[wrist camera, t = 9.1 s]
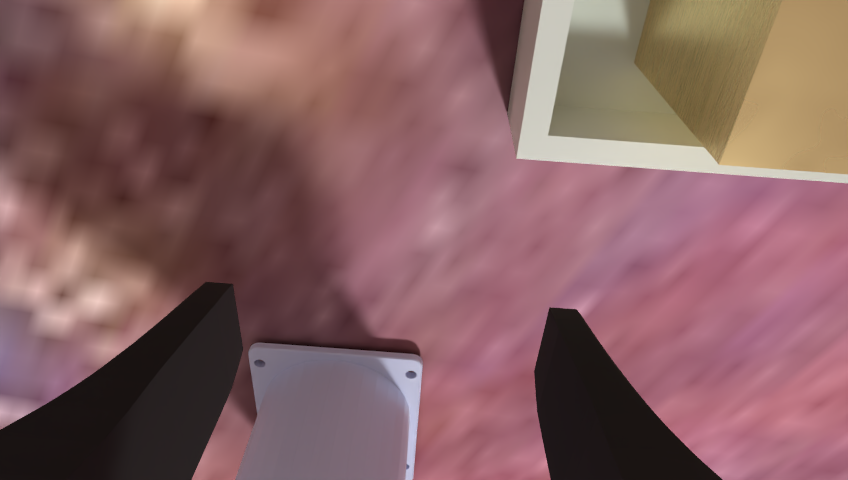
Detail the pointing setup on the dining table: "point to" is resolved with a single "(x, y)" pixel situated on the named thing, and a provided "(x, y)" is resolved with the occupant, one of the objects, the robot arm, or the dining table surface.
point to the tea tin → (754, 78)
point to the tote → (601, 95)
